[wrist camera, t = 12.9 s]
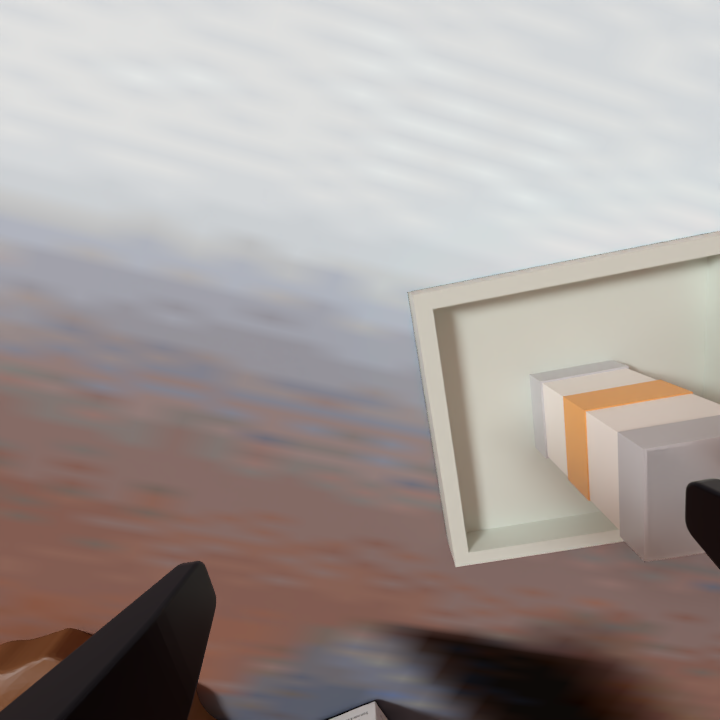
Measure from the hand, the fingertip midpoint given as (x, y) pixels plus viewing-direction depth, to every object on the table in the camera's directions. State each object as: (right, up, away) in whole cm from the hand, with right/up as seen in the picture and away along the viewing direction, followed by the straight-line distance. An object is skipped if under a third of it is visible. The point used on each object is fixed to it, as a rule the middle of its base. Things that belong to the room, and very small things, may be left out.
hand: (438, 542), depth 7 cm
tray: (+10, +1, +13) cm, 16 cm away
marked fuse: (+10, +1, +13) cm, 16 cm away
